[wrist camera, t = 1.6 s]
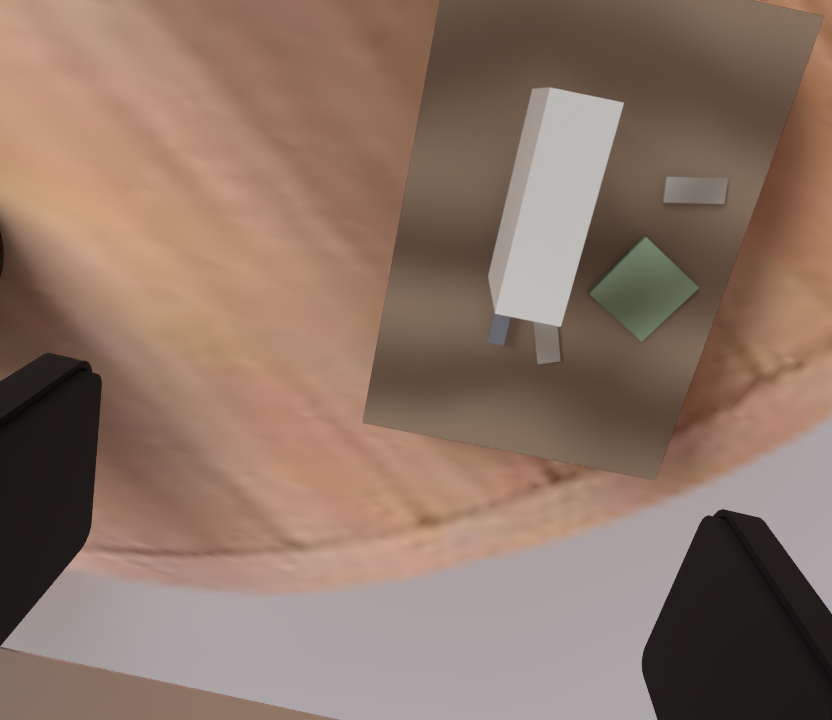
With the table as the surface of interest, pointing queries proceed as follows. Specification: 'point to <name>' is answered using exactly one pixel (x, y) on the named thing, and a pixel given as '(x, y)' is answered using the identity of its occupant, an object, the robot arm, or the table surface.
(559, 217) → the peg
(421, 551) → the table surface
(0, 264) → the water bottle
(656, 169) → the brown slab
